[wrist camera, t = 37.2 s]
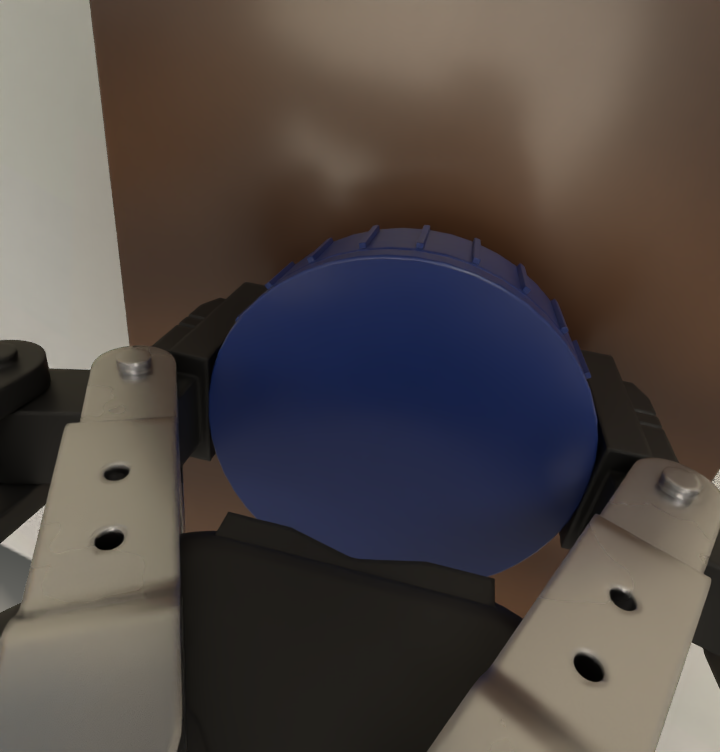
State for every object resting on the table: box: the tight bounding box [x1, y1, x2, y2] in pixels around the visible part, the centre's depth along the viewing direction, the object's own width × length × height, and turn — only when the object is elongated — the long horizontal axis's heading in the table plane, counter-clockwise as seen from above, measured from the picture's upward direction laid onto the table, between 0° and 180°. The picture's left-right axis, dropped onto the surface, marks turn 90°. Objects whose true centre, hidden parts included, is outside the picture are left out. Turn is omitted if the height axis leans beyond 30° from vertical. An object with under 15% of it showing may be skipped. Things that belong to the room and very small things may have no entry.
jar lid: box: [208, 225, 598, 577], centre depth 10 cm, size 7×7×2 cm
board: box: [90, 0, 720, 618], centre depth 14 cm, size 20×16×2 cm
